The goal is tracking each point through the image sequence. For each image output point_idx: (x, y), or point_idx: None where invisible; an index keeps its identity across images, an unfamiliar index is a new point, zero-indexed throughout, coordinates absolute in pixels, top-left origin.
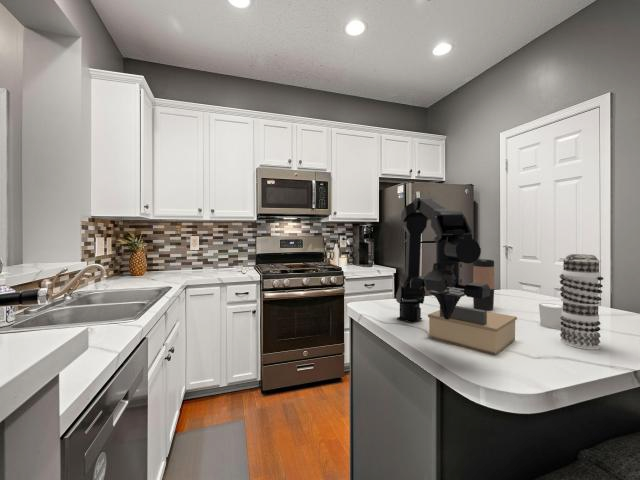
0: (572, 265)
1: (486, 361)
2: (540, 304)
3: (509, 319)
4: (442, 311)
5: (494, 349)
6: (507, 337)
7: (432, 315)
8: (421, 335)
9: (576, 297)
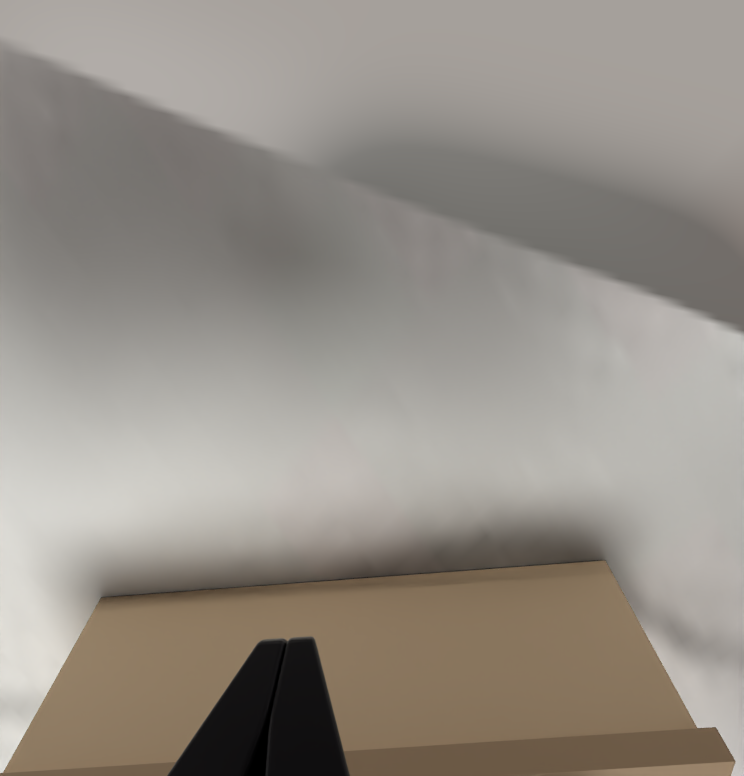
0: None
1: (53, 467)
2: None
3: None
4: (332, 755)
5: (90, 630)
6: None
7: (672, 764)
8: (674, 550)
9: None
